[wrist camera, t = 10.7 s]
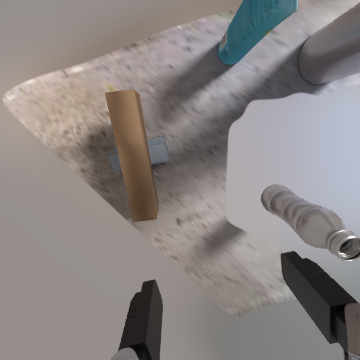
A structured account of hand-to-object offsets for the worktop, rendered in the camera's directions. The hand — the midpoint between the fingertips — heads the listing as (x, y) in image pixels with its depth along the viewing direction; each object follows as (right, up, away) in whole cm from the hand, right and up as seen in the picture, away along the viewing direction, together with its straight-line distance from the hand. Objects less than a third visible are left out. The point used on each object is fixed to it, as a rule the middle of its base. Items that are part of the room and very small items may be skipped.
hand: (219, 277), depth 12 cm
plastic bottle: (+19, +3, +31) cm, 37 cm away
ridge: (-10, +12, +28) cm, 32 cm away
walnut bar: (-10, +10, +21) cm, 25 cm away
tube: (+7, +31, +23) cm, 39 cm away
